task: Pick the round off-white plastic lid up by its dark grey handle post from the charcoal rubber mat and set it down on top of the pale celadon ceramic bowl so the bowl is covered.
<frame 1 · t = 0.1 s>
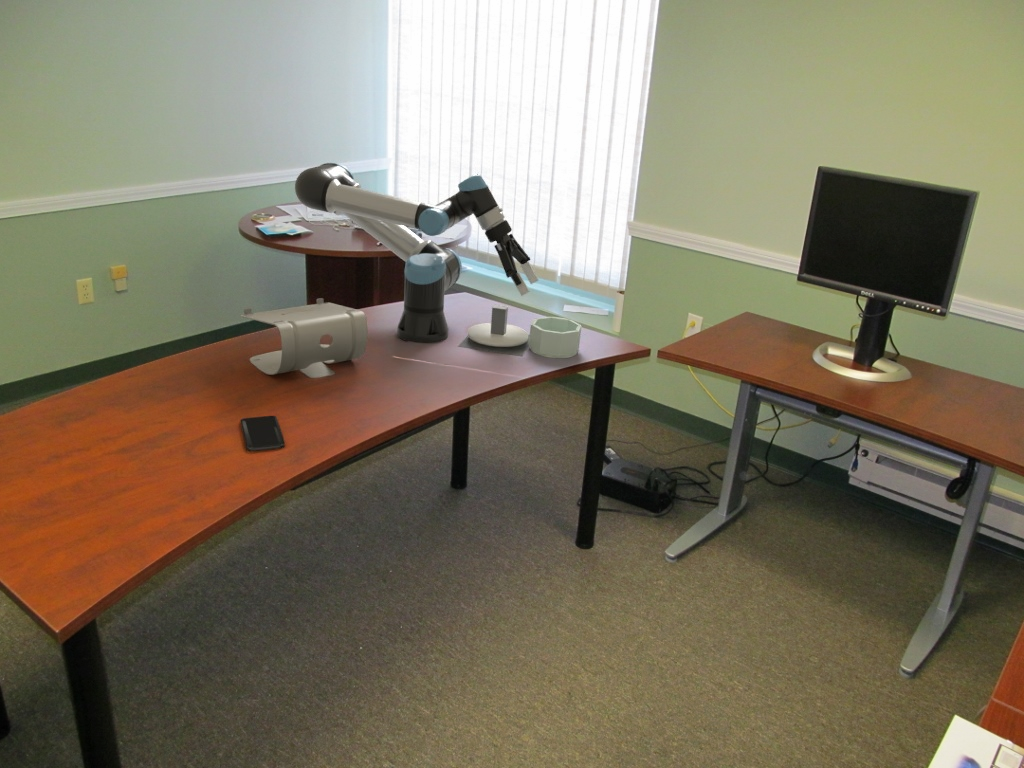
hand: (530, 287, 245), 15 cm above the table, fingers open, 13 cm apart
mat: (497, 342, 243), on the table
bowl: (553, 350, 240), on the table
phone: (262, 436, 178), on the table
portable electronic device stand: (305, 364, 217), on the table
lid: (497, 340, 243), resting on mat
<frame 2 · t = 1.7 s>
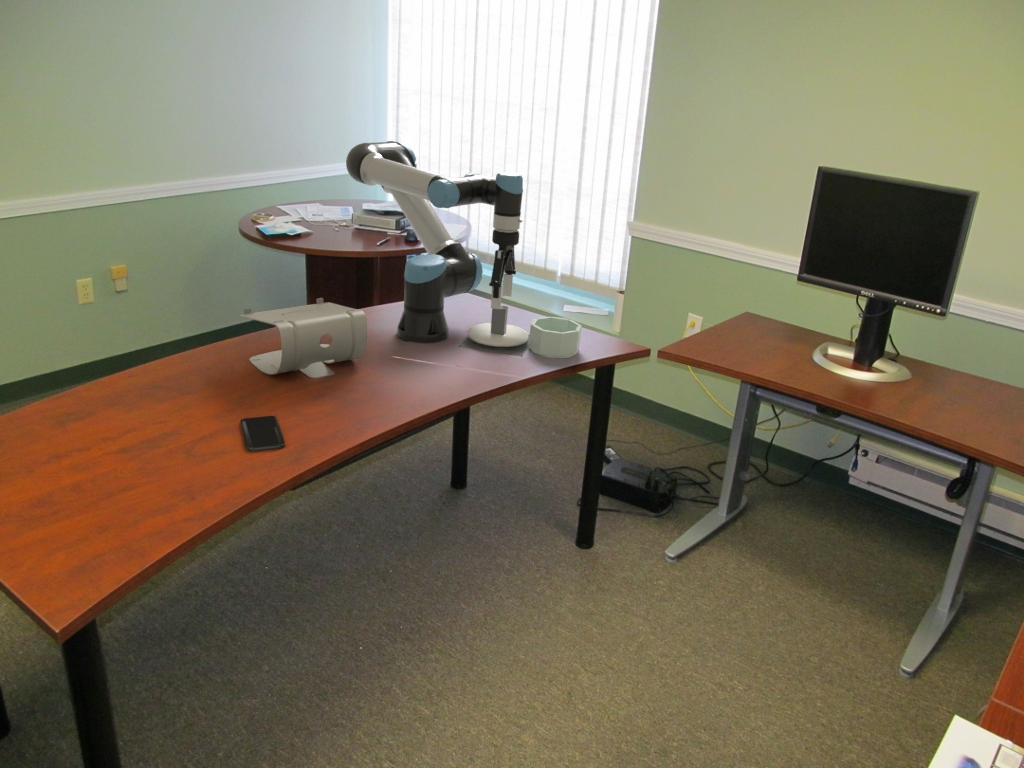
hand: (501, 302, 238), 12 cm above the table, fingers open, 13 cm apart
nothing on the table moved.
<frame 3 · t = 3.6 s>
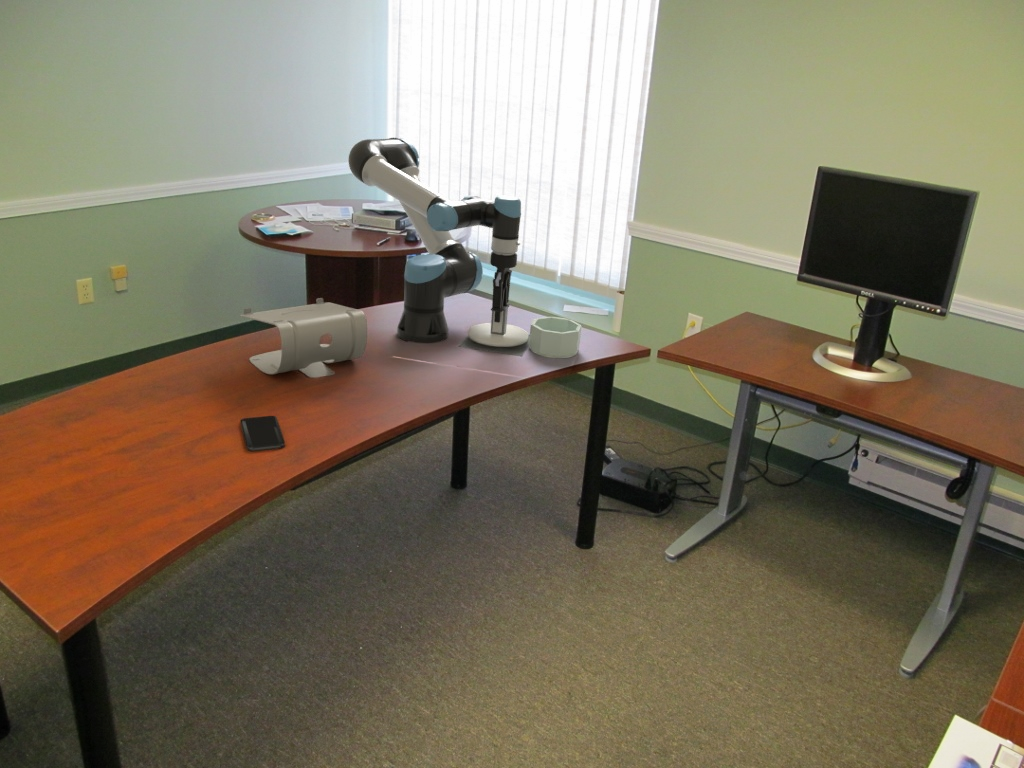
hand: (498, 329, 242), 4 cm above the table, fingers closed on lid, 3 cm apart
lid: (497, 340, 243), resting on mat, touching gripper
everything else where it was.
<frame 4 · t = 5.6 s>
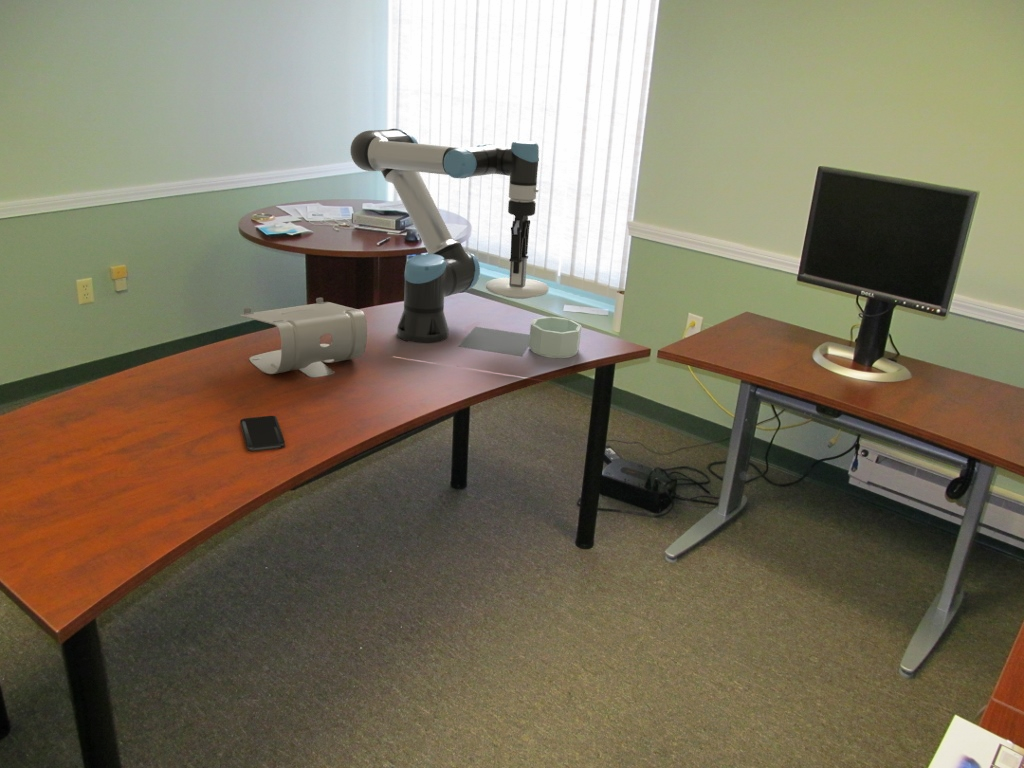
hand: (517, 282, 235), 19 cm above the table, fingers closed on lid, 3 cm apart
lid: (516, 293, 236), point 16 cm above the table, touching gripper
everything else where it was.
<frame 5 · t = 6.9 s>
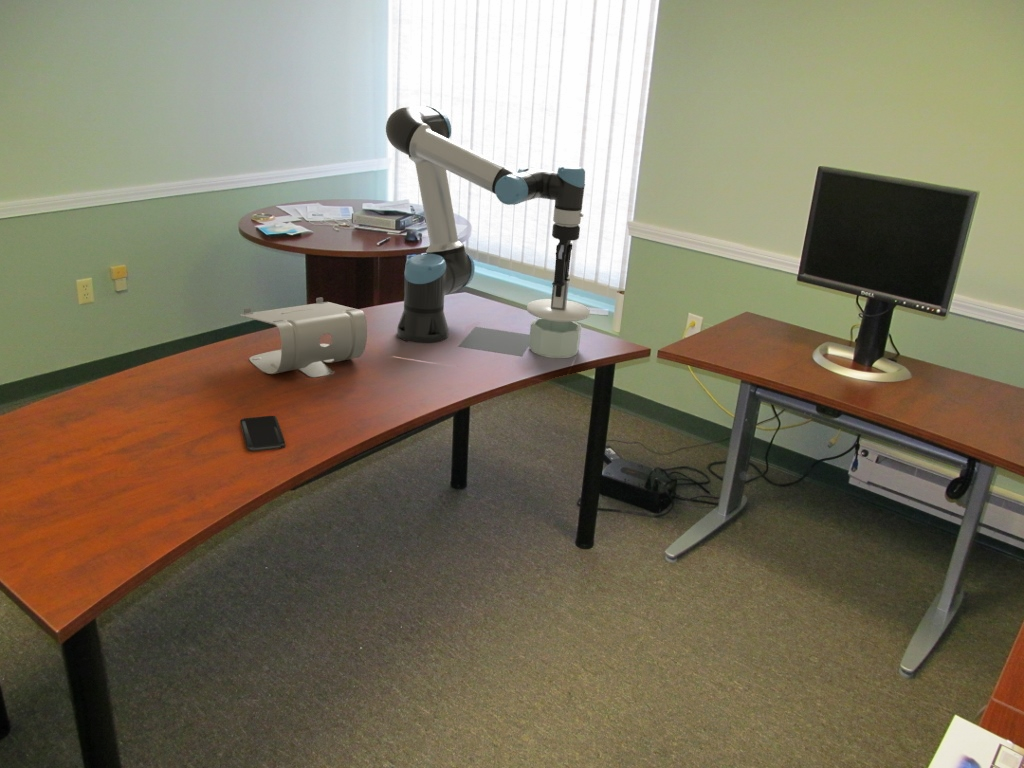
hand: (558, 305, 235), 14 cm above the table, fingers closed on lid, 3 cm apart
lid: (557, 316, 236), point 11 cm above the table, touching gripper
everything else where it was.
when the fingers open (11 cm above the table, at t = 7.7 s): lid drops 1 cm, resting on bowl.
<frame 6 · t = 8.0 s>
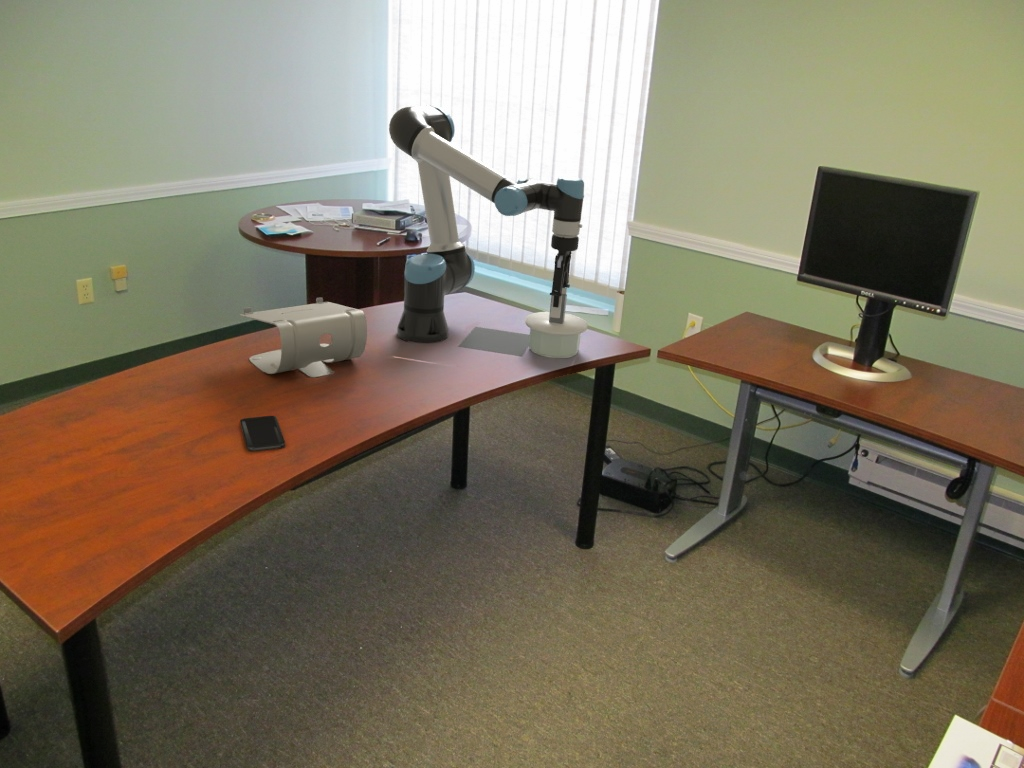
hand: (557, 313, 236), 12 cm above the table, fingers open, 7 cm apart
lid: (555, 329, 238), point 6 cm above the table, touching bowl
everything else where it was.
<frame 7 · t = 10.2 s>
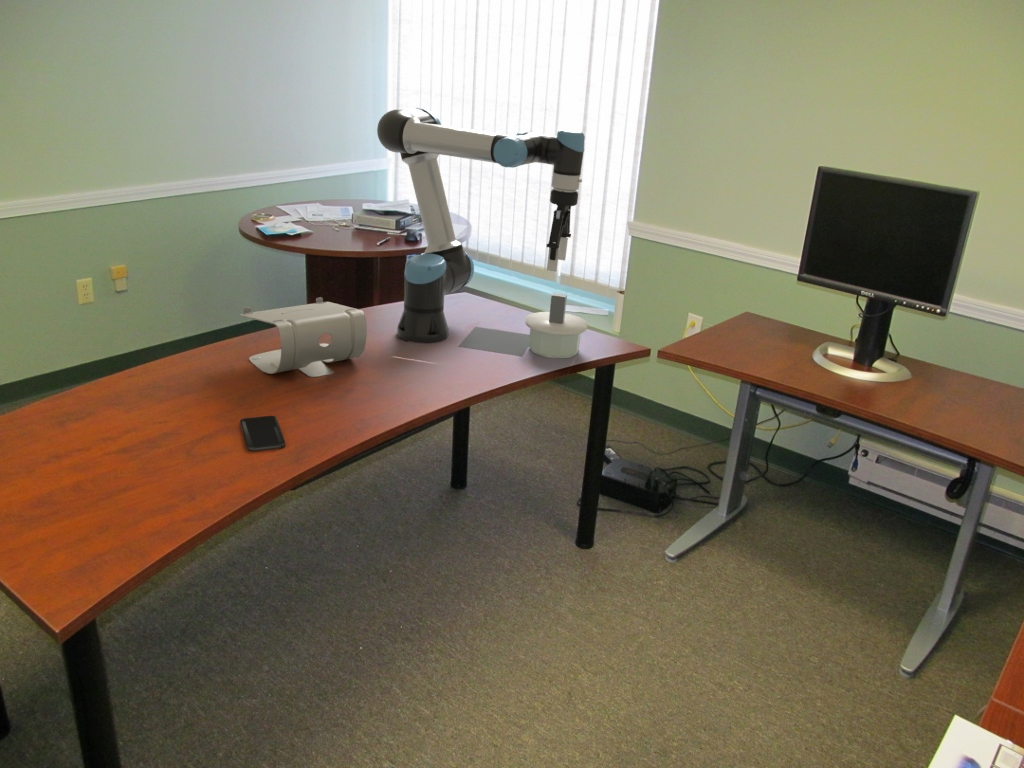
hand: (556, 265, 232), 25 cm above the table, fingers open, 13 cm apart
nothing on the table moved.
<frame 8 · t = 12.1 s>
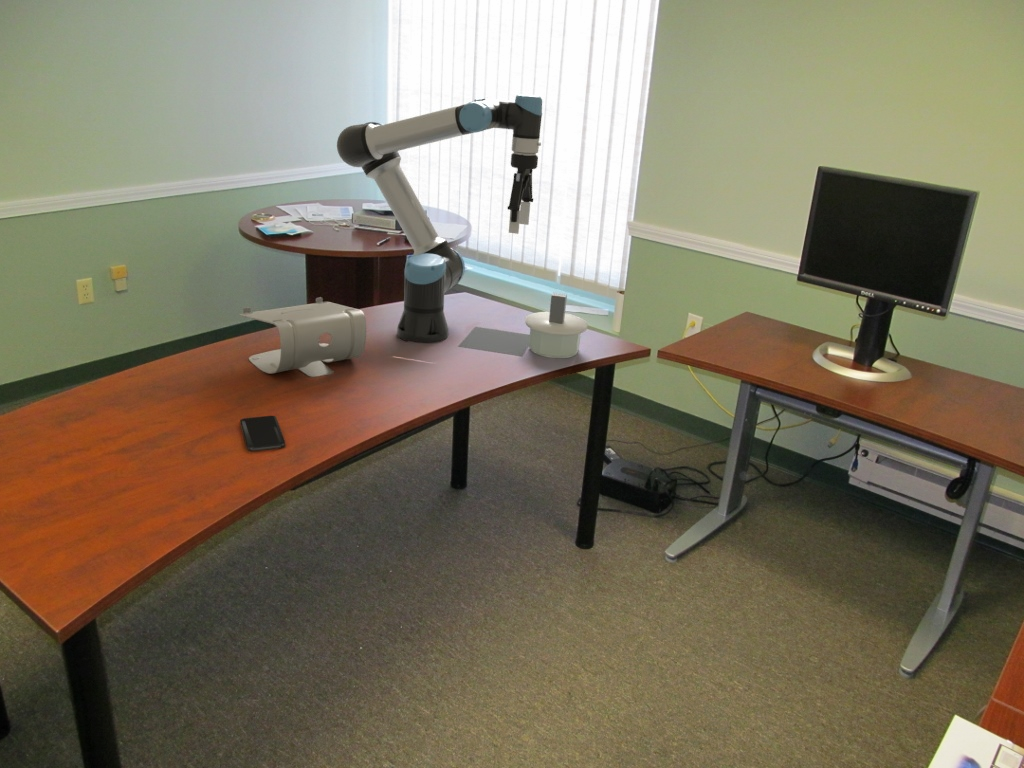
hand: (518, 228, 238), 33 cm above the table, fingers open, 13 cm apart
nothing on the table moved.
at the end: lid 0.0 cm off-centre on the bowl, point 6.5 cm above the bowl's base; lid tilted 0°; the gripper is holding nothing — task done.
